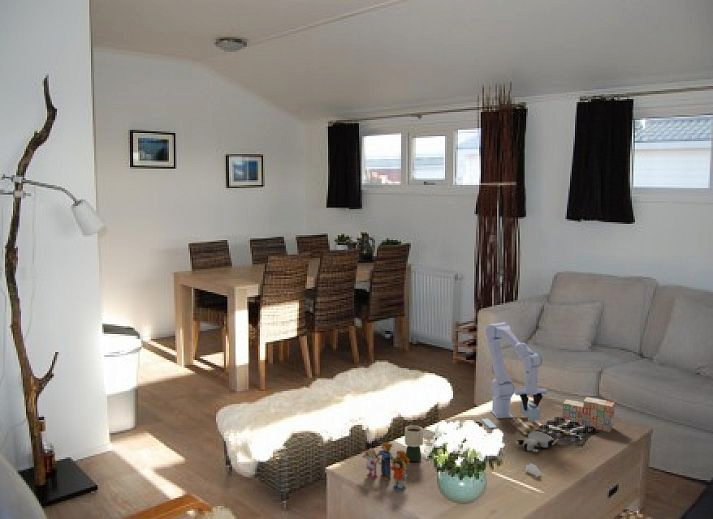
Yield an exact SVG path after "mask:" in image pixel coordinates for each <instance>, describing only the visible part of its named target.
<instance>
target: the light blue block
mask: <svg viewBox="0 0 713 519" xmlns="http://www.w3.org/2000/svg"><path fill="white" fill-rule="evenodd" d="M533 403H534V402H531V400H528V406H527V411H525V410H524V407H523V403H522V400H520V410H519V411H520V412H521V414H522V415H523V416H526V417H527V418H528V419H530V420H531V421H538V422H540V421H541V409H540V407H539V406H538V407H537V406H536V405H535V404H533Z"/></svg>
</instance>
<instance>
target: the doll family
mask: <svg viewBox="0 0 713 519" xmlns="http://www.w3.org/2000/svg"><path fill="white" fill-rule="evenodd" d="M393 446H394V444H393V443H389V442H383V443H381V447H380V448H381V449H382V450H379V451H378V452H377V453H376V450H375V449H374V448H369V449H368V450H365V451H364V454H362V456H361V457H362V458H363V459H366V460H367V462H366V467H365V469H366V470H368V474H366V476H367V477H369V478H371V479H373V480H376V479H378V474H377V464H378V465H380V472H381V474H380V478H383V479H384V480H386V481H387V480H390V479H391V475H392V474H391V470H392V471H393V479H394V485H393V487H392V488H393V489H395V490H396V491H397V492H402V491H403V490H404V488H403V487H404V486H403V485H405V484H406V482H407V477H408V474H406V472H407V471H406V470H407V468H406V465H408V466H410V464H411V463H410V461H409V458H407V456H406V451H405V450H398V451H396V456H395V457H394V456H393V454H392V452H390V451H391V449H392V448H393ZM380 456H381V458H380ZM380 460H381V461H380ZM372 475H373V476H372ZM375 478H376V479H375Z"/></svg>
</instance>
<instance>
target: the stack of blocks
mask: <svg viewBox="0 0 713 519" xmlns="http://www.w3.org/2000/svg"><path fill="white" fill-rule="evenodd" d="M614 413H615V401H614V402H612V401H608V400H605V399H599V398H594V397H588V396H586V397H585V398H584V400H583V402H581V401H577V400H571V399H565V400H564V402H563V403H562V416H561V417H562V418H565V419H568V420H572V421H576V422H580V423H581V424H582V425H591V426H594V427H595V428H596V429H595V430H598V431H602V432H607V433H611V431H612V429H613V426H614V415H615V414H614Z"/></svg>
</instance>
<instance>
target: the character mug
mask: <svg viewBox="0 0 713 519" xmlns="http://www.w3.org/2000/svg"><path fill="white" fill-rule="evenodd" d="M404 444H405V445H406V451H405V454H406V456H407V458H409V462H419V461H421V460H422V453H421V452H422V451H421V446H423V445H424V430H423V427H421V426H419V425H408V426H405V428H404Z"/></svg>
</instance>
